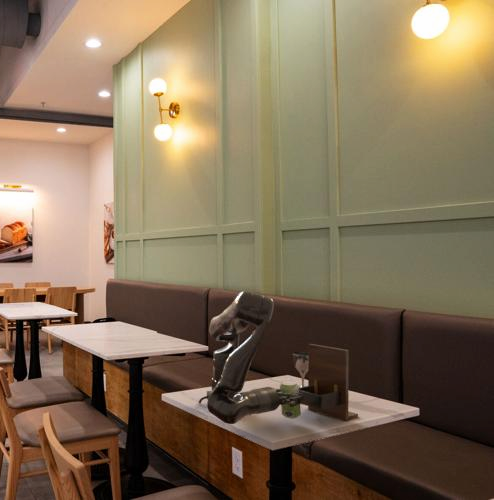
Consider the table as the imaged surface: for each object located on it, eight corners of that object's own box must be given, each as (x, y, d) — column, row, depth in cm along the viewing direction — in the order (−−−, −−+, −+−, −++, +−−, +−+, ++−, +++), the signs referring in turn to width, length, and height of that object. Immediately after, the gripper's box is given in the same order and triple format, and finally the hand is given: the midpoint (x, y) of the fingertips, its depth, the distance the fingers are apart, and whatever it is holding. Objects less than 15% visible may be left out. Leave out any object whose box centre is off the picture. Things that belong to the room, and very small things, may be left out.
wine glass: (307, 392, 212) (307, 356, 212) (289, 388, 218) (289, 353, 218) (316, 389, 218) (316, 353, 218) (298, 385, 223) (298, 351, 224)
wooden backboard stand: (325, 426, 169) (326, 353, 169) (288, 414, 181) (288, 346, 182) (358, 417, 179) (358, 348, 179) (320, 406, 192) (320, 342, 192)
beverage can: (303, 416, 171) (304, 380, 172) (294, 421, 166) (295, 384, 166) (285, 412, 176) (286, 377, 176) (276, 417, 170) (276, 381, 170)
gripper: (279, 394, 157) (313, 387, 166) (244, 383, 169) (278, 378, 178) (279, 418, 157) (313, 410, 166) (243, 406, 169) (277, 399, 178)
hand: (294, 393), depth 172 cm, fingers closed on beverage can, 6 cm apart
